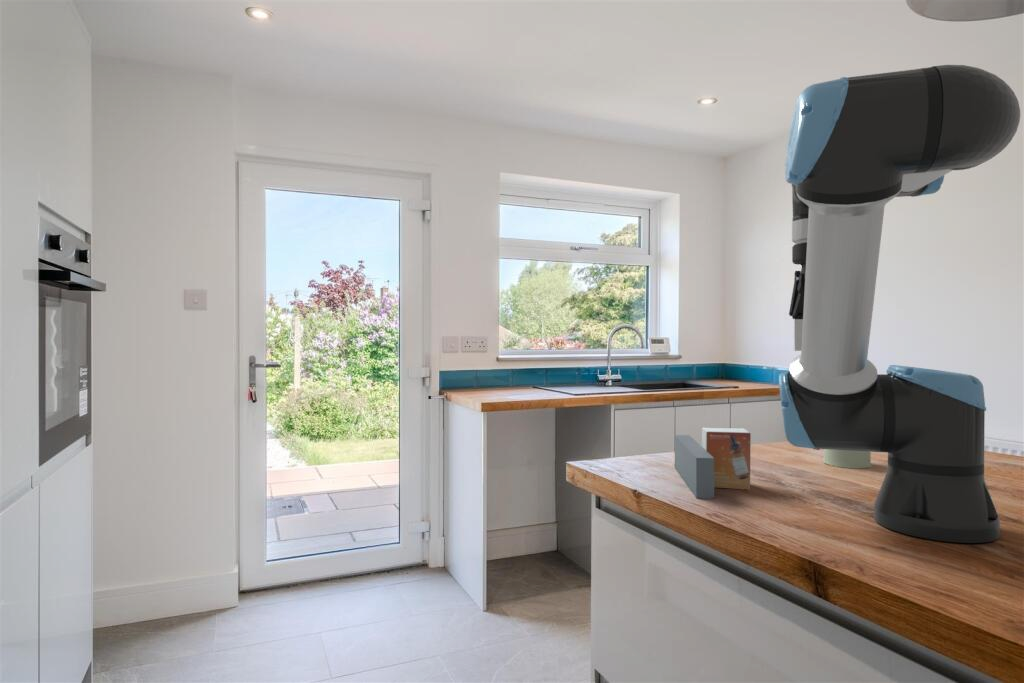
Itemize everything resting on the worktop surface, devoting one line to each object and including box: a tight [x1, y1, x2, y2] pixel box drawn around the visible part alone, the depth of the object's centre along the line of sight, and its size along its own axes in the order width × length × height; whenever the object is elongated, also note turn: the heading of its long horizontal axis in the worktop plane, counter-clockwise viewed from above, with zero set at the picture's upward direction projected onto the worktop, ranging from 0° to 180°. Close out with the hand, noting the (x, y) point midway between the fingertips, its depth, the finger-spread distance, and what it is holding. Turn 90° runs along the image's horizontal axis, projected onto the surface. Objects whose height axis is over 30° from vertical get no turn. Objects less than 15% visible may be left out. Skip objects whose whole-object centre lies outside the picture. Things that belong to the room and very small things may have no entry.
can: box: [822, 449, 872, 470], centre depth 133 cm, size 9×9×12 cm
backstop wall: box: [674, 434, 715, 499], centre depth 118 cm, size 24×3×7 cm, turn 174°
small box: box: [701, 427, 752, 491], centre depth 115 cm, size 8×6×10 cm
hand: (813, 351), depth 120 cm, fingers open, 13 cm apart
